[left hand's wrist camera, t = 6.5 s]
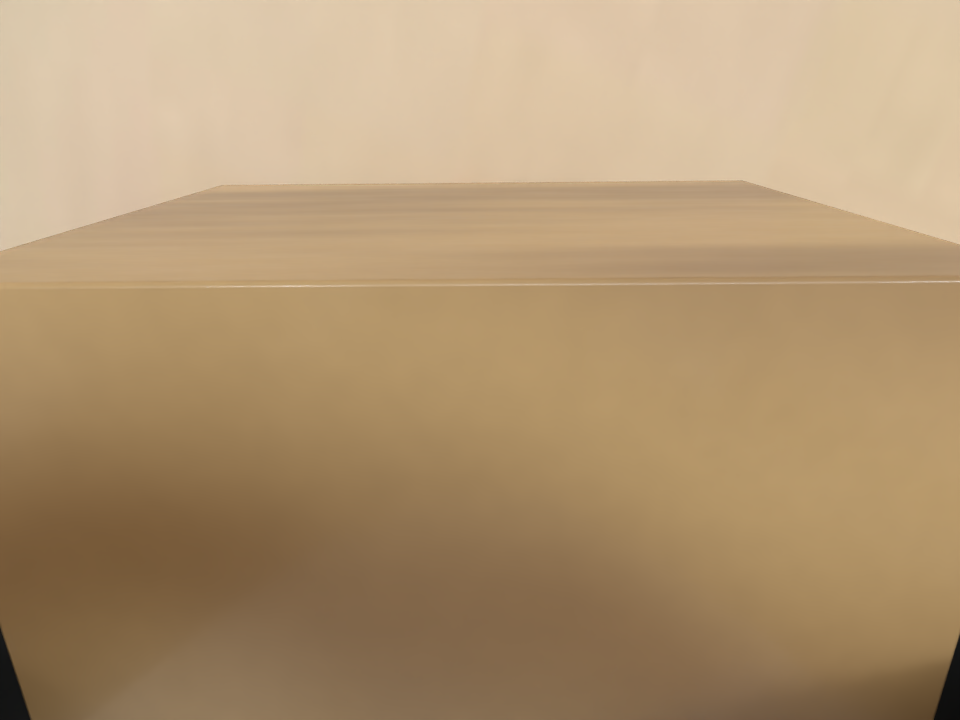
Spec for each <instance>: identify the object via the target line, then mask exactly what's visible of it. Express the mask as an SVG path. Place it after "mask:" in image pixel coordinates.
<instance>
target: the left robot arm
mask: <svg viewBox="0 0 960 720" xmlns="http://www.w3.org/2000/svg"><path fill="white" fill-rule="evenodd" d="M0 720H30V717H29V714H28V711H27V708H26V705H25V702H24V698H23V695H22V692H21V689H20V686H19V683H18V680H17V677H16V674H15V671H14V668H13V665H12V662H11V659H10V656H9V653H8V650H7V647H6V644H5V641H4V638H3V635H2V632H1V628H0ZM934 720H960V635H959V638H958V642H957V645H956V648H955V651H954V655H953V658H952V661H951V665H950V668H949V671H948V674H947V678H946V681H945V684H944V688H943V691H942V694H941V697H940V701H939V704H938V707H937V711H936V714H935V717H934Z"/></svg>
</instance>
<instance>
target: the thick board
mask: <svg viewBox="0 0 960 720" xmlns="http://www.w3.org/2000/svg"><path fill="white" fill-rule="evenodd" d="M0 628H1V632H2V635H3V638H4V641H5V644H6V647H7V650H8V653H9V656H10V659H11V662H12V665H13V668H14V671H15V674H16V677H17V680H18V683H19V686H20V689H21V692H22V695H23V698H24V702H25V705H26V708H27V711H28V714H29V717H30V720H934V717H935V714H936V711H937V707H938V704H939V701H940V697H941V694H942V691H943V688H944V684H945V681H946V678H947V674H948V671H949V668H950V665H951V661H952V658H953V655H954V651H955V648H956V645H957V642H958V638H959V635H960V245H959V244H956V243H952V242H949V241H945V240H942V239H939V238H935V237H932V236H928V235H925V234H922V233H918V232H915V231H911V230H908V229H905V228H901V227H898V226H894V225H891V224H888V223H884V222H881V221H877V220H874V219H871V218H867V217H864V216H861V215H857V214H854V213H850V212H847V211H844V210H840V209H837V208H833V207H830V206H827V205H823V204H820V203H816V202H813V201H810V200H806V199H803V198H799V197H796V196H793V195H789V194H786V193H782V192H779V191H776V190H772V189H769V188H766V187H762V186H759V185H755V184H752V183H749V182H745V181H646V182H536V183H425V184H314V185H221V186H218V187H214V188H211V189H208V190H204V191H201V192H198V193H194V194H191V195H188V196H184V197H181V198H177V199H174V200H171V201H167V202H164V203H161V204H157V205H154V206H151V207H147V208H144V209H141V210H137V211H134V212H131V213H127V214H124V215H121V216H117V217H114V218H110V219H107V220H104V221H100V222H97V223H94V224H90V225H87V226H84V227H80V228H77V229H74V230H70V231H67V232H64V233H60V234H57V235H54V236H50V237H47V238H44V239H40V240H37V241H33V242H30V243H27V244H23V245H20V246H17V247H13V248H10V249H7V250H3V251H0Z"/></svg>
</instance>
